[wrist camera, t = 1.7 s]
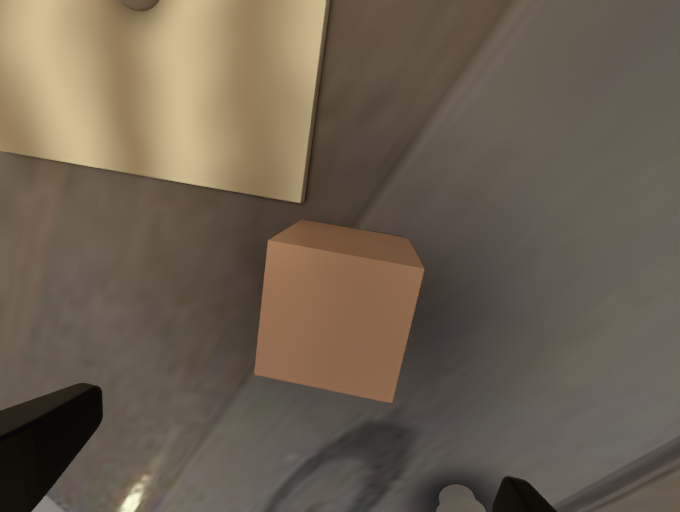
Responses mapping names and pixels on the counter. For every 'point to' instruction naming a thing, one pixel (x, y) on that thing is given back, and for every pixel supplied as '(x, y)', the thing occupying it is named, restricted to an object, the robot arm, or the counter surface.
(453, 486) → the light bulb
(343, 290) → the tan cardboard-like cube
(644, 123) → the counter surface
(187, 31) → the post base
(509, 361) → the counter surface
